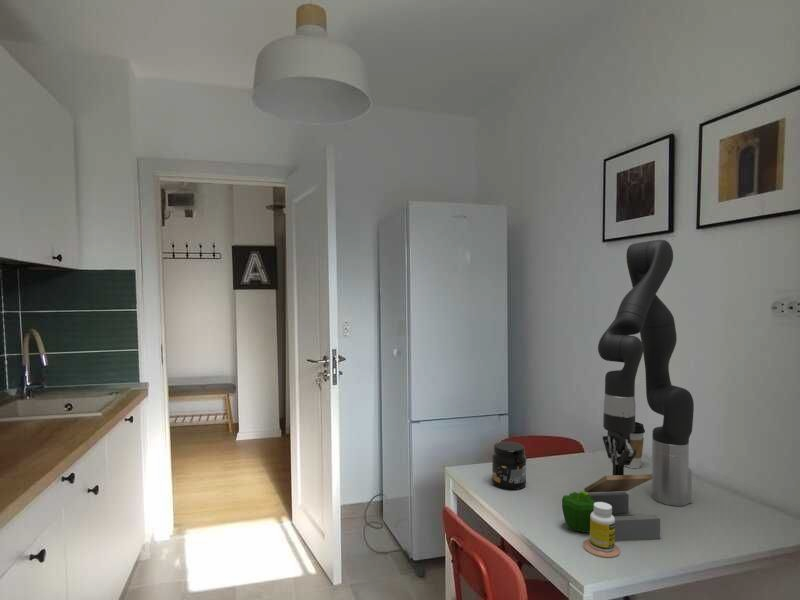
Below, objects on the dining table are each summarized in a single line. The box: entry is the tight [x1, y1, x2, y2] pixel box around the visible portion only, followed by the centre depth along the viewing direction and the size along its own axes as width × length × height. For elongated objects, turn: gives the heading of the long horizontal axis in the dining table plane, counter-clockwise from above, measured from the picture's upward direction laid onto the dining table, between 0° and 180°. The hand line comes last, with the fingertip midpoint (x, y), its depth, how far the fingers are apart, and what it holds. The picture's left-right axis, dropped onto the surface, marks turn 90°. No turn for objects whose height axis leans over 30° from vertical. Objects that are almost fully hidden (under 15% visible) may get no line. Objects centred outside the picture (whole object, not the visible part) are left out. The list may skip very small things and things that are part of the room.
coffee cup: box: [624, 421, 646, 469], centre depth 168 cm, size 8×8×15 cm
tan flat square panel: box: [583, 473, 653, 493], centre depth 127 cm, size 12×14×1 cm
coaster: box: [582, 538, 621, 559], centre depth 114 cm, size 8×8×1 cm
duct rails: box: [588, 491, 661, 542], centre depth 126 cm, size 12×16×5 cm
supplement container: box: [491, 441, 527, 491], centre depth 152 cm, size 10×10×12 cm
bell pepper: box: [561, 490, 596, 533], centre depth 124 cm, size 8×8×10 cm
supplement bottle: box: [589, 502, 616, 552], centre depth 114 cm, size 5×5×10 cm
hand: (618, 478), depth 126 cm, fingers closed
